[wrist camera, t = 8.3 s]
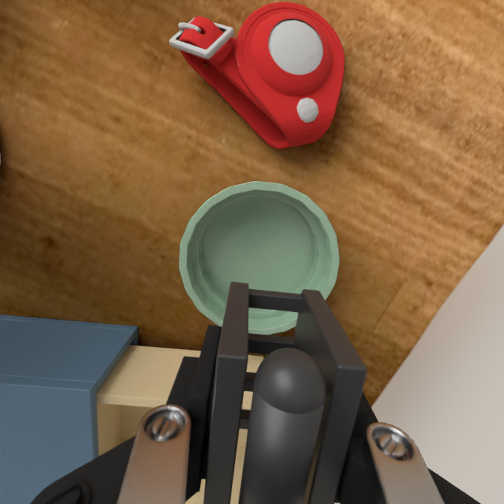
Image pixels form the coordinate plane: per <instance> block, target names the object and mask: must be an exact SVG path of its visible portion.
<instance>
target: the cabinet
mask: <svg viewBox="0 0 504 504" xmlns="http://www.w3.org/2000/svg"><path fill="white" fill-rule="evenodd" d="M129 345H135V346H138V326H127V325H115V324H104V323H92V322H81V321H69V320H58V319H46V318H35V317H23V316H12V315H0V504H16V503H18V504H30V503H32V501H33V500H34V498H35V497H36V496H37V495H38V494H39V493H40V492H41V491H42V490H43V489H44V488H46V487H47V486H49V485H50V484H52V483H53V482H54V481H56V480H58V479H60V478H62V477H63V476H65V475H67V474H69V473H70V472H72V471H74V470H76V469H77V468H79V467H81V466H83V465H84V464H86V463H88V462H90V461H91V460H93V459H95V458H97V457H98V456H99V446H98V421H97V396H96V391H97V390H98V389H99V388H100V386H101V385H102V383H103V382H104V381H105V379H106V378H107V376H108V375H109V373H110V372H111V371H112V369H113V368H114V366H115V365H116V364H117V362H118V361H119V359H120V358H121V357H122V355H123V354H124V352H125V351H126V349H127V348H128V347H129Z"/></svg>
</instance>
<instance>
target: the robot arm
mask: <svg viewBox="0 0 504 504" xmlns="http://www.w3.org/2000/svg"><path fill="white" fill-rule="evenodd" d="M0 164H1V155H0ZM221 329H222V326H212V325H208V328H207V332H206V335H205V339H204V343H203V346H202V350H201V353H200V357H189V356H184V357H183V359H182V362H181V365H180V367H179V370H178V373H177V375H176V378H175V381H174V383H173V386H172V389H171V391H170V394H169V397H168V400H167V402H166V404H165V405H160V406H157V407H155V408H153V409H151V410H150V411H148V412H147V413H146V414H145V415H144V416H143V417H142V419H141V421H140V423H139V426H138V429H137V433H136V435H135V436H134V437H132V438H130V439H128V440H127V441H125V442H123V443H121V444H120V445H118V446H116V447H114V448H113V449H111V450H109V451H107V452H105V453H104V454H102V455H100V456H98V457H97V458H95V459H93V460H91V461H90V462H88V463H86V464H84V465H83V466H81V467H79V468H77V469H76V470H74V471H72V472H70V473H69V474H67V475H65V476H63V477H62V478H60V479H58V480H56V481H54V482H53V483H52V484H50V485H49V486H47V487H46V488H44V489H43V490H42V491H41V492H40V493H39V494H38V495H37V496H36V497H35V498H34V500H33V501H32V503H30V504H185V502H186V501H187V500H189V499H190V498H191V497H192V496H193V495H195V494H196V493H197V492H200V486H201V480H202V479H205V478H206V467H207V456H208V445H209V434H210V423H211V412H212V401H213V390H214V379H215V368H216V357H217V351H218V346H219V340H220V335H221ZM335 503H340V504H480V503H479V502H477V501H476V500H474V499H473V498H472V497H470V496H469V495H467V494H466V493H464V492H463V491H461V490H460V489H458V488H457V487H455V486H454V485H452V484H451V483H449V482H448V481H447V480H445V479H444V478H442V477H441V476H439V475H438V474H436V473H435V472H433V471H432V470H430V469H429V468H427V466H426V464H425V462H424V460H423V458H422V456H421V453H420V451H419V449H418V447H417V446H416V444H415V443H414V441H413V440H412V439H411V438H410V437H409V436H408V435H407V434H406V433H405V432H403V431H402V430H401V429H399V428H397V427H395V426H393V425H390V424H387V423H382V422H378V420H377V418H376V416H375V414H374V412H373V411H372V409H371V407H370V405H369V403H368V401H367V399H366V397H365V395H364V393H363V391H362V394H361V398H360V402H359V406H358V410H357V414H356V418H355V422H354V426H353V430H352V434H351V439H350V443H349V447H348V451H347V455H346V459H345V463H344V467H343V471H342V475H341V479H340V483H339V487H338V491H337V495H336V499H335ZM16 504H18V503H16Z"/></svg>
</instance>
